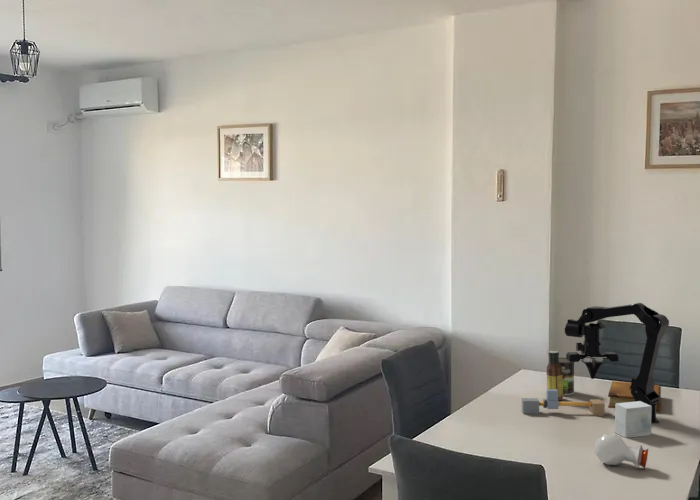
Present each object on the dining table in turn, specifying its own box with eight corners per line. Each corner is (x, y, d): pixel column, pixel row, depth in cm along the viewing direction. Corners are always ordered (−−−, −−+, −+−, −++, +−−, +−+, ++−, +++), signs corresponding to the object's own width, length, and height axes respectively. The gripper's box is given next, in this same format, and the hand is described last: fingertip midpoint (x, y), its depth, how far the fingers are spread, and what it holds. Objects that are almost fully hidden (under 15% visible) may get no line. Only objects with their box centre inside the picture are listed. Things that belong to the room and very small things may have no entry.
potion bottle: (592, 464, 211) (644, 478, 204) (589, 454, 204) (643, 469, 197) (598, 435, 215) (649, 448, 208) (596, 425, 208) (649, 438, 200)
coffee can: (574, 396, 283) (574, 363, 283) (549, 394, 286) (548, 361, 286) (574, 390, 293) (574, 357, 292) (549, 388, 296) (549, 356, 296)
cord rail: (600, 411, 262) (600, 397, 262) (604, 415, 256) (604, 402, 256) (521, 410, 265) (521, 397, 265) (523, 414, 259) (523, 401, 259)
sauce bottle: (561, 397, 282) (561, 350, 281) (564, 401, 276) (564, 353, 275) (545, 397, 283) (545, 350, 282) (548, 401, 277) (548, 353, 276)
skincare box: (626, 438, 230) (626, 408, 230) (614, 432, 237) (614, 403, 236) (652, 435, 233) (652, 405, 233) (639, 429, 239) (639, 400, 239)
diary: (660, 414, 259) (660, 399, 259) (608, 409, 267) (608, 394, 266) (660, 398, 280) (660, 384, 280) (612, 393, 288) (612, 380, 287)
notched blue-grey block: (556, 406, 262) (556, 389, 262) (558, 409, 259) (558, 391, 259) (545, 406, 263) (545, 388, 262) (547, 409, 259) (547, 391, 259)
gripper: (609, 335, 272) (610, 373, 273) (562, 335, 273) (562, 374, 274) (619, 340, 261) (619, 380, 261) (569, 340, 262) (570, 380, 263)
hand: (592, 378), depth 265 cm, fingers closed
